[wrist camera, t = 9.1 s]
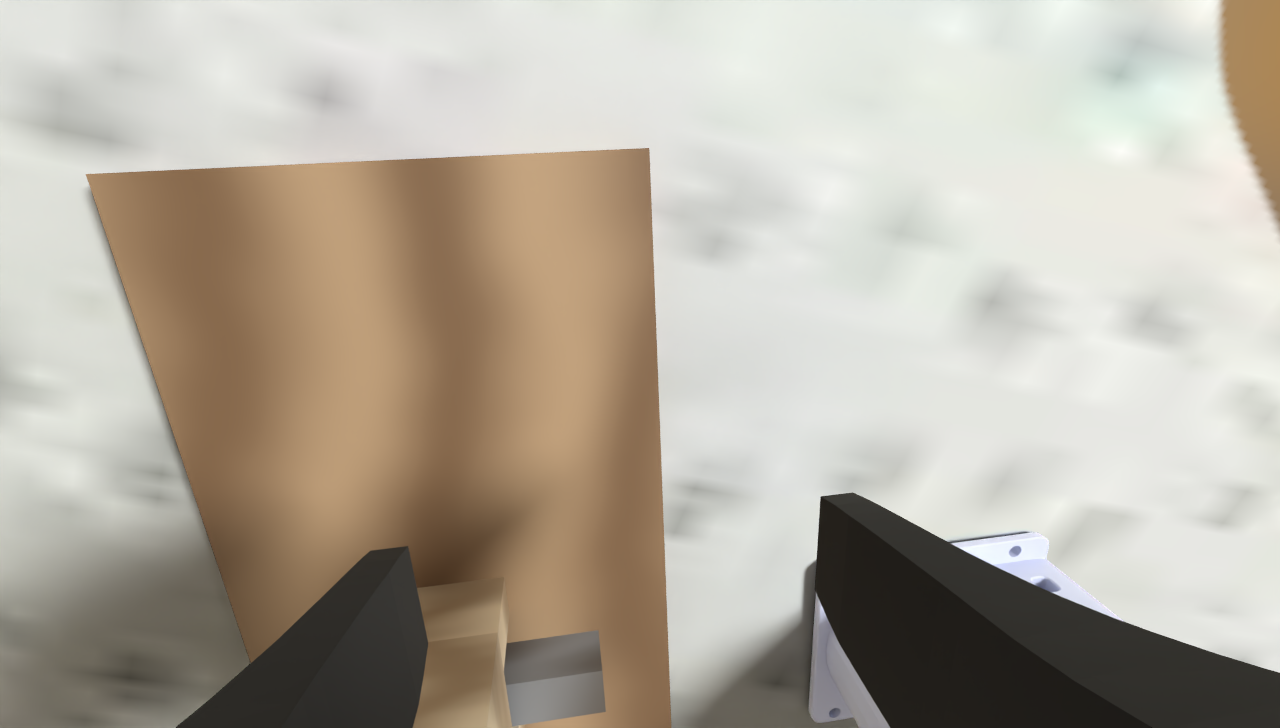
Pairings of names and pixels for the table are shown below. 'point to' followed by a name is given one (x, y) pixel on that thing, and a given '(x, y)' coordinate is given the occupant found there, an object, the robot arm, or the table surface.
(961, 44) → the table surface
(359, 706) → the robot arm
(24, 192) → the table surface
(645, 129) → the table surface
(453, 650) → the slotted block
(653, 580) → the board
